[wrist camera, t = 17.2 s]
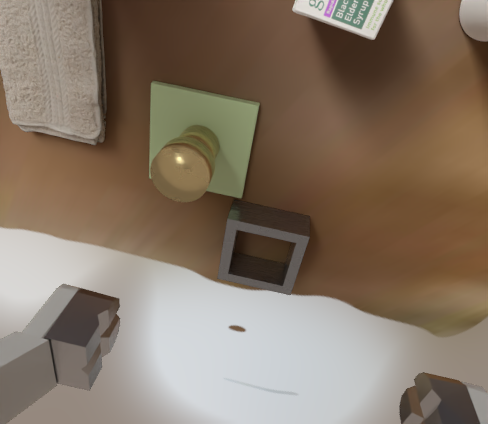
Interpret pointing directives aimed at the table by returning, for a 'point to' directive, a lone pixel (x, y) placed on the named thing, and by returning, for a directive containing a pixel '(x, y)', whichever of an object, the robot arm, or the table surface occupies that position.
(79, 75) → the washcloth
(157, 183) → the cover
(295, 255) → the box
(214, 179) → the pad
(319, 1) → the syrup box
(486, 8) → the cosmetic bottle
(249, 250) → the table surface
